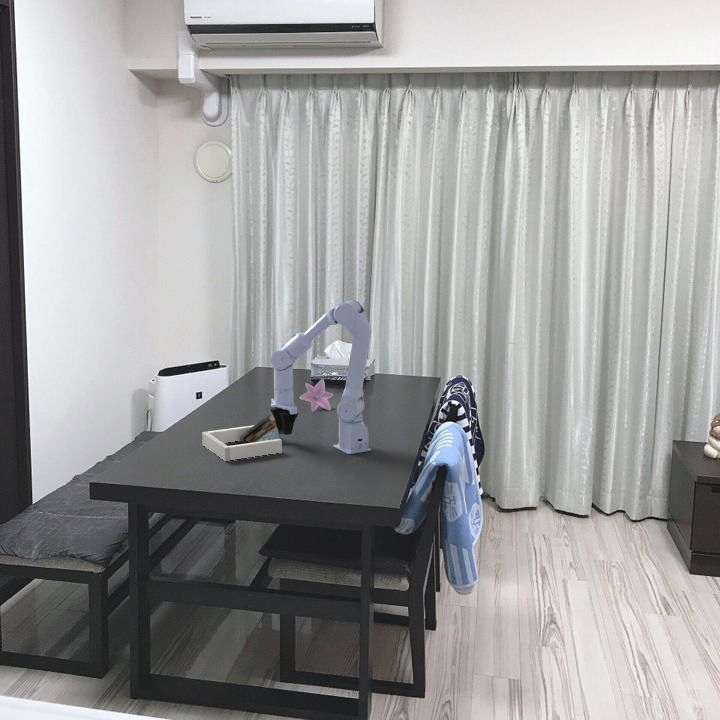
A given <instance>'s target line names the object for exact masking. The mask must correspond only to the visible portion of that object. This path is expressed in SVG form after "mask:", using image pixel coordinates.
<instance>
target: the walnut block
mask: <svg viewBox="0 0 720 720" xmlns="http://www.w3.org/2000/svg"><path fill="white" fill-rule="evenodd" d="M270 420H271V423H272V424H273V425H274V426H275V427H277V426H276V422H275V419H274V416H273V415H272V416H270Z"/></svg>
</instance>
